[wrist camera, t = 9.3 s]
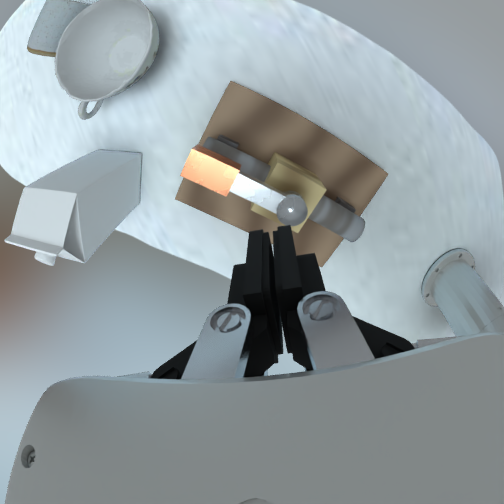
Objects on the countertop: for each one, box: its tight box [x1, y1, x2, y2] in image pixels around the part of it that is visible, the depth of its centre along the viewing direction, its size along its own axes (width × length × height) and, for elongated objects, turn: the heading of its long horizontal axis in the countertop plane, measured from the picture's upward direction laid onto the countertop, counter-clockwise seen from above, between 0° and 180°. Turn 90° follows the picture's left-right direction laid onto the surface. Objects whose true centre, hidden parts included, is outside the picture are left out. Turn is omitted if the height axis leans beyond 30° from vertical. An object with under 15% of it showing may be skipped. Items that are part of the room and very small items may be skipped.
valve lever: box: [180, 144, 308, 226], centre depth 24 cm, size 12×3×2 cm, turn 63°
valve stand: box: [175, 81, 388, 267], centre depth 29 cm, size 22×16×8 cm
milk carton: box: [5, 150, 142, 265], centre depth 25 cm, size 7×7×19 cm
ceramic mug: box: [27, 0, 90, 57], centre depth 18 cm, size 11×8×8 cm
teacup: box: [55, 0, 159, 120], centre depth 21 cm, size 15×12×8 cm
